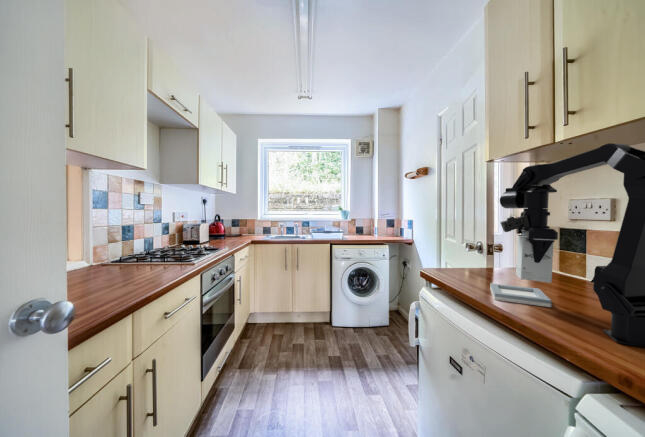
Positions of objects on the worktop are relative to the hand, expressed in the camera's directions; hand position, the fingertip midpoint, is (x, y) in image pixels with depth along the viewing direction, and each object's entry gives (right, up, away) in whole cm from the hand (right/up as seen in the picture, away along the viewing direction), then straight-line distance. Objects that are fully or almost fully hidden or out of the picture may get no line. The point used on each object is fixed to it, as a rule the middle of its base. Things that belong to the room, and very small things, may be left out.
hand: (533, 260), depth 79 cm
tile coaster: (+1, -13, +8) cm, 15 cm away
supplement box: (0, -6, 0) cm, 6 cm away
